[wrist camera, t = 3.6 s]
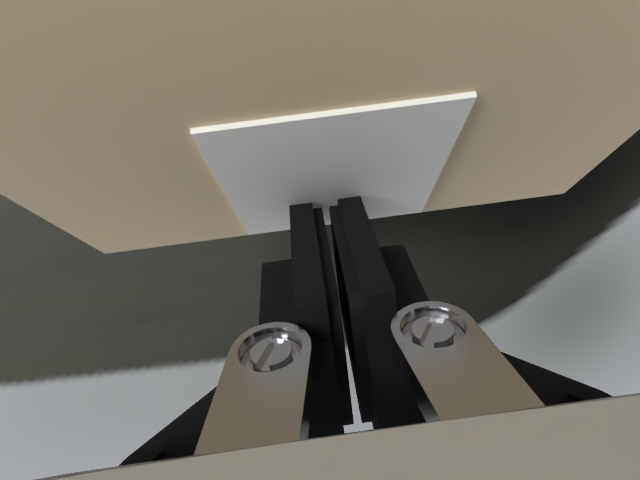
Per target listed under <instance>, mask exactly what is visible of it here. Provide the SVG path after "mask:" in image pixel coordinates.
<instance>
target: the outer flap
mask: <svg viewBox="0 0 640 480" xmlns="http://www.w3.org/2000/svg"><path fill="white" fill-rule="evenodd" d="M639 129H640V0H0V194H1V195H3V196H5V197H7V198H8V199H10V200H12V201H14V202H15V203H17V204H19V205H21V206H22V207H24V208H26V209H28V210H29V211H31V212H33V213H35V214H36V215H38V216H40V217H42V218H43V219H45V220H47V221H49V222H50V223H52V224H54V225H56V226H57V227H59V228H61V229H63V230H64V231H66V232H68V233H70V234H71V235H73V236H75V237H77V238H78V239H80V240H82V241H84V242H85V243H87V244H89V245H91V246H92V247H94V248H96V249H98V250H99V251H101V252H103V253H105V254H106V253H114V252H122V251H129V250H137V249H145V248H152V247H160V246H168V245H175V244H183V243H190V242H198V241H206V240H213V239H221V238H229V237H236V236H244V235H252V234H259V233H267V232H275V231H282V230H290V211H289V206H290V205H297V204H305V203H312V206H313V208H320V207H322V210H323V216H324V221H325V225H328V224H331V220H330V211H329V206H335V205H337V199H342V198H349V197H357V196H360V197H361V199H362V202H363V204H364V207H365V210H366V212H367V215H368V218H369V219H374V218H382V217H389V216H397V215H404V214H412V213H420V212H427V211H435V210H442V209H450V208H458V207H465V206H473V205H481V204H488V203H496V202H503V201H511V200H519V199H526V198H534V197H542V196H549V195H557V194H564V193H565V192H566V191H567V190H569V189H570V188H571V187H572V186H573V185H575V184H576V183H577V182H578V181H579V180H580V179H582V178H583V177H584V176H585V175H586V174H587V173H589V172H590V171H591V170H592V169H593V168H594V167H596V166H597V165H598V164H599V163H600V162H602V161H603V160H604V159H605V158H606V157H607V156H609V155H610V154H611V153H612V152H613V151H614V150H616V149H617V148H618V147H619V146H620V145H621V144H623V143H624V142H625V141H626V140H627V139H628V138H630V137H631V136H632V135H633V134H634V133H636V132H637V131H638V130H639Z"/></svg>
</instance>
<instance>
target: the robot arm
mask: <svg viewBox="0 0 640 480" xmlns="http://www.w3.org/2000/svg"><path fill="white" fill-rule="evenodd" d="M289 211H290V232H291V253H292V259H288V260H281V261H274V262H266V263H263V264H262V277H261V296H260V314H259V326H256V327H253V328H251V329H249V330H248V331H246V332H244V333H243V334H241V335H240V336H239V337H238V338H237V339H236V340H235V341H234V343H233V345H232V346H231V348H230V350H229V353H228V356H227V359H226V362H225V365H224V367H223V370H222V374H221V376H220V379H219V382H218V385H217V387H215V388H214V389H213V390H212V391H210V392H209V393H208V394H207V395H206V396H204V397H203V398H202V399H200V400H199V401H198V402H197V403H195V404H194V405H193V406H191V407H190V408H189V409H188V410H187V411H185V412H184V413H183V414H182V415H180V416H179V417H178V418H176V419H175V420H174V421H173V422H171V423H170V424H169V425H168V426H166V427H165V428H164V429H162V430H161V431H160V432H159V433H157V434H156V435H155V436H154V437H152V438H151V439H150V440H149V441H147V442H146V443H145V444H144V445H142V446H141V447H140V448H138V449H137V450H136V451H135V452H134V453H132V454H131V455H130V456H128V457H127V458H126V459H125V460H124V461H123V462H122V463H121V464H120V465H119V466H117V467H110V468H103V469H96V470H90V471H83V472H75V473H69V474H63V475H58V476H52V477H47V478H41V479H35V480H640V393H637V394H631V395H622V396H615V397H613V396H611V395H609V394H607V393H605V392H603V391H601V390H598V389H596V388H593V387H590V386H588V385H585V384H583V383H580V382H577V381H575V380H572V379H570V378H567V377H565V376H562V375H559V374H557V373H554V372H552V371H549V370H547V369H544V368H541V367H539V366H536V365H534V364H531V363H528V362H526V361H523V360H521V359H518V358H515V357H513V356H510V355H508V354H505V353H503V352H500V351H499V349H498V348H497V347H496V346H495V345H494V343H493V342H492V341H491V340H490V339H489V337H488V336H487V335H486V334H485V333H484V331H483V330H482V329H481V328H480V327H479V325H478V324H477V323H476V322H475V321H474V319H473V318H472V317H471V316H470V315H469V314H468V313H467V312H465V311H464V310H463V309H461V308H459V307H457V306H455V305H452V304H448V303H444V302H437V301H429V300H428V298H427V295H426V293H425V291H424V289H423V287H422V285H421V282H420V280H419V278H418V276H417V274H416V271H415V269H414V267H413V265H412V263H411V261H410V258H409V256H408V254H407V252H406V250H405V248H404V246H403V244H399V245H391V246H384V247H379V245H378V242H377V240H376V237H375V234H374V231H373V229H372V226H371V223H370V221H369V218H368V215H367V212H366V210H365V207H364V204H363V202H362V199H361V197H360V196H357V197H349V198H342V199H337V205H335V206H329V211H330V220H331V229H332V238H333V246H334V255H335V264H336V272H337V281H338V290H339V297H338V291H337V285H336V280H335V274H334V269H333V264H332V258H331V253H330V248H329V242H328V237H327V232H326V226H325V221H324V216H323V210H322V207H320V208H313V206H312V203H305V204H297V205H290V206H289ZM339 298H340V303H339ZM340 306H341V310H340ZM341 313H342V318H343V324H344V329H345V334H346V340H347V345H348V351H349V356H350V361H351V367H352V371H353V377H354V383H355V388H356V394H357V399H358V404H359V410H360V415H361V420H362V423H365V422H371V421H372V424H373V429H374V430H367V431H359V432H353V433H345V434H344V428H343V425H350V424H353V414H352V406H351V396H350V388H349V379H348V370H347V362H346V353H345V344H344V336H343V327H342V319H341Z"/></svg>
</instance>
